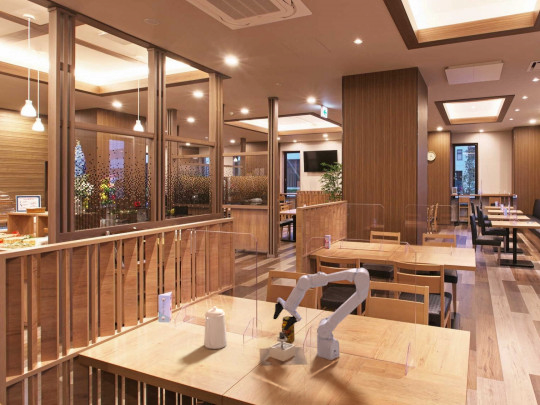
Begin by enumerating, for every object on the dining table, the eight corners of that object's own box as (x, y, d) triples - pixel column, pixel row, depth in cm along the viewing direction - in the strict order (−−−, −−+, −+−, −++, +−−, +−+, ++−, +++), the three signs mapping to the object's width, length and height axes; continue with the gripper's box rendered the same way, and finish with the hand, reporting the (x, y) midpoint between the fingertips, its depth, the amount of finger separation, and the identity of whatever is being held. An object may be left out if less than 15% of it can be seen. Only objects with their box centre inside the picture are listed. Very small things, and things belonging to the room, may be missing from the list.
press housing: (281, 350, 188) (281, 341, 188) (295, 355, 183) (295, 345, 183) (269, 356, 182) (269, 346, 182) (283, 361, 177) (283, 351, 177)
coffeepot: (194, 355, 186) (193, 314, 185) (213, 335, 211) (212, 299, 210) (217, 357, 184) (216, 315, 183) (233, 336, 208) (232, 300, 208)
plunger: (281, 344, 186) (281, 329, 186) (291, 347, 183) (291, 332, 182) (273, 348, 182) (272, 333, 182) (282, 351, 178) (282, 336, 178)
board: (302, 348, 192) (302, 347, 192) (307, 365, 174) (307, 364, 174) (259, 350, 191) (259, 348, 191) (260, 367, 173) (260, 365, 173)
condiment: (283, 345, 196) (283, 320, 196) (278, 339, 204) (277, 315, 204) (298, 343, 198) (297, 319, 198) (292, 337, 207) (291, 313, 206)
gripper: (278, 289, 187) (264, 314, 189) (300, 309, 178) (285, 335, 180) (287, 290, 192) (273, 313, 195) (309, 309, 183) (294, 334, 186)
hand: (280, 324), depth 188 cm, fingers open, 7 cm apart
